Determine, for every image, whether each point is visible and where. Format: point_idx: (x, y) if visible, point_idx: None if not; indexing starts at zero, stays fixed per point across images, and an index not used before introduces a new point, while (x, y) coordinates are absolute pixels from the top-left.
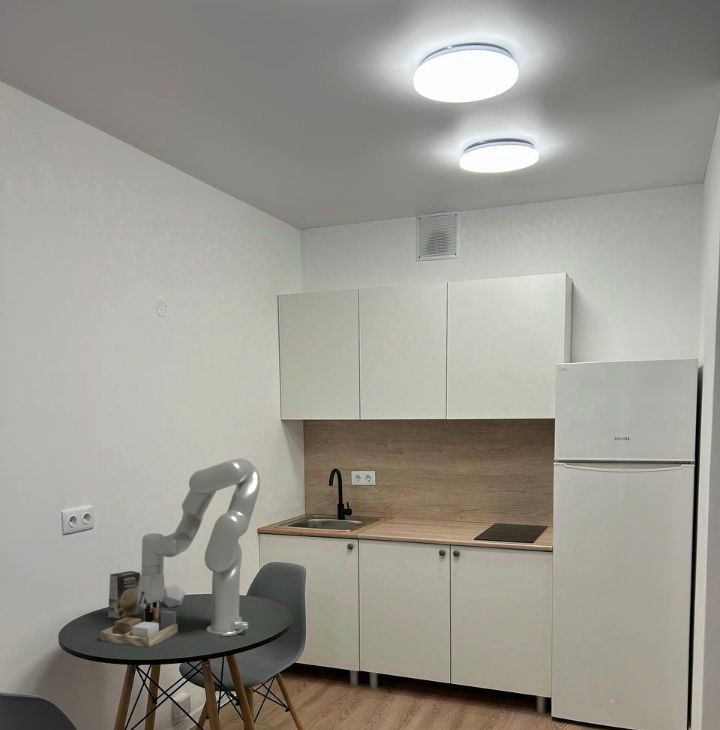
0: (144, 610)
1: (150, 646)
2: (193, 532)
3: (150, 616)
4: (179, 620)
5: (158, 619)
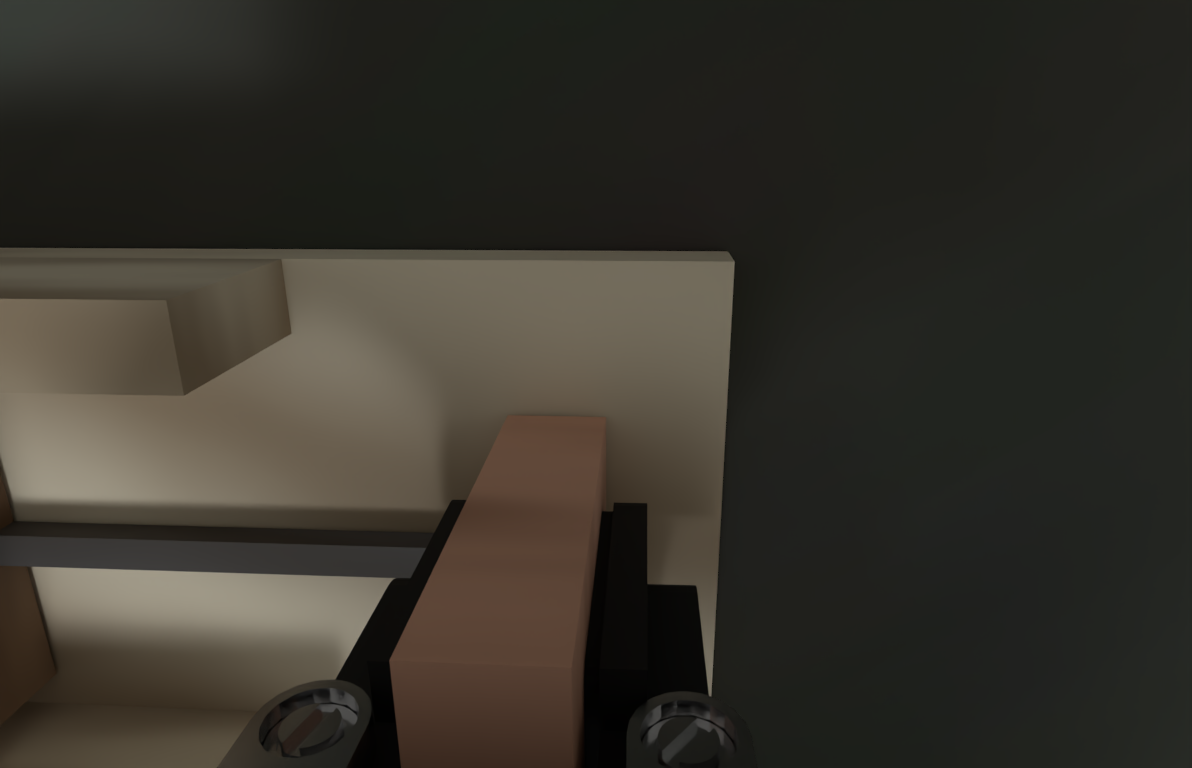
0: (251, 739)
1: None
2: None
3: None
4: (1158, 722)
5: None
